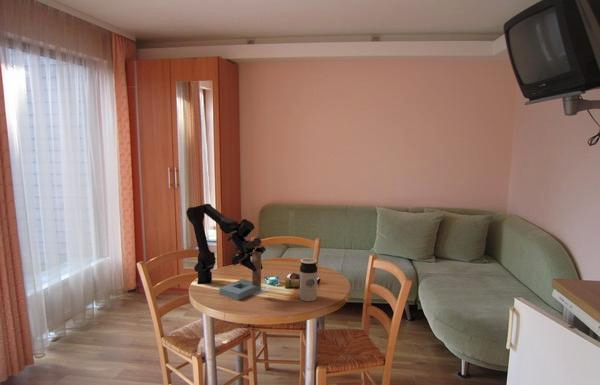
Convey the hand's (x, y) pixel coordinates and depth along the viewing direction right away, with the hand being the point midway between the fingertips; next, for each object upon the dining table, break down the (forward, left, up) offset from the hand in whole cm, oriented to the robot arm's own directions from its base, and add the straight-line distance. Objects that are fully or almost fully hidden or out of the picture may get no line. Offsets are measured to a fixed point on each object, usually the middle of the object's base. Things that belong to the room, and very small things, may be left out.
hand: (258, 270), depth 173 cm
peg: (-1, +1, -7) cm, 7 cm away
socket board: (-8, +8, -13) cm, 17 cm away
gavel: (+19, +20, -14) cm, 31 cm away
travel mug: (+22, -4, -13) cm, 26 cm away
